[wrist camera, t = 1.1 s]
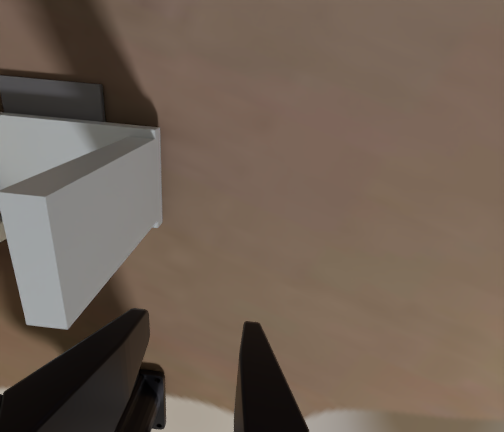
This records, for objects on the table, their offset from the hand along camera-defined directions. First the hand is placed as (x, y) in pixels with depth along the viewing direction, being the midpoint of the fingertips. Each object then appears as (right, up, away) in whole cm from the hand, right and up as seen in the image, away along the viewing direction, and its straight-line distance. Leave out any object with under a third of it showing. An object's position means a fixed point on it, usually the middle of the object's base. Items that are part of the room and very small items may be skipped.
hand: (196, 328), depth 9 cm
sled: (-12, +6, +12) cm, 18 cm away
